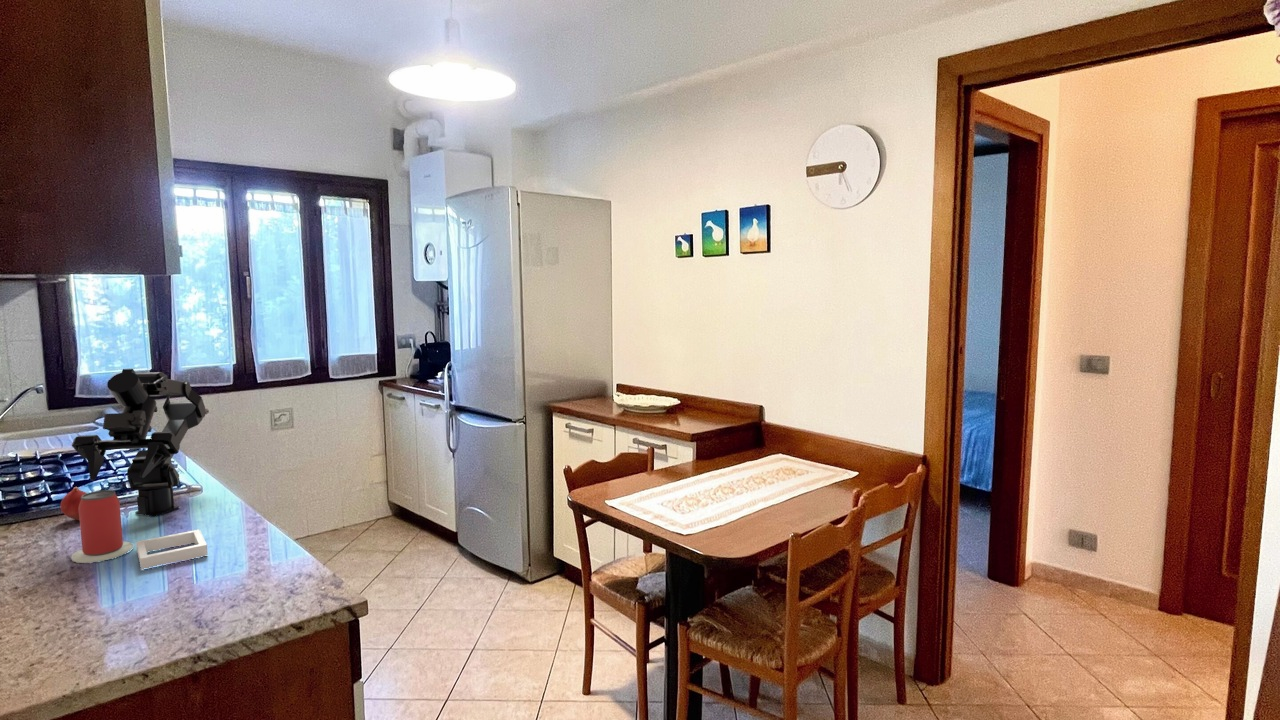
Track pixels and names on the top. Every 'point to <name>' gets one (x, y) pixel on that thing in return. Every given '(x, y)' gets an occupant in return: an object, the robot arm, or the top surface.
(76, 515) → the onion
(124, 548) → the coaster
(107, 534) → the beer can
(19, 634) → the top surface
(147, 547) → the collar
